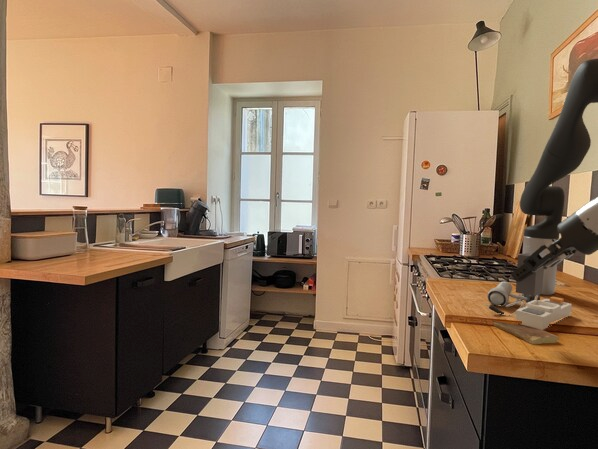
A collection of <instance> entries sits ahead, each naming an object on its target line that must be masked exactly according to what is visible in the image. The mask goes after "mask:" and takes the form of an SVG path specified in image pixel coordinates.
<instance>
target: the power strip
mask: <svg viewBox="0 0 598 449" xmlns="http://www.w3.org/2000/svg"><path fill="white" fill-rule="evenodd" d="M572 305H573V304H572V303H569V302H565V301H564V298H562V297H556V296H551V297H549V298H544V299H540V300H533V301H530V302H528V303H526V302H525V306H522V307H521V308H520V307H519V308H520V309H519V308H518V309H516V310H515V312H516V313H515V319H517V320H519V321H522V324H521V326H525V327H530V328H535V329H540V330H544V331H545V330H546V329H547V328H549V327H550V326H549V324H550V323H551V322H554V321H556V320H559V319H561V318H563V317H566V316H569V315H571V314H572ZM571 316H572V315H571ZM569 317H570V316H569ZM515 319H514V320H515ZM548 326H549V327H548Z"/></svg>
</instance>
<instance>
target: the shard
mask: <svg viewBox="0 0 598 449" xmlns="http://www.w3.org/2000/svg"><path fill="white" fill-rule="evenodd" d="M491 322H492V323H493V326H494V327H496V328H498V329H501V330H502V331H504V332H507V333H509V334H511V335H514V336H515V337H516V338H519V339H522V340H523V341H525V342H527V343H529V344H532V345H538V344H556V343H557V342H558V341H559V339H560V337H559V336H558V335H555V334H553V333H550V332H548V331H546V330H545V329H544V330H540V329H536V328H533V327H529V326H525V325H521V324H511V323H507V322H506V323H505V322H499V321H495V320H492V321H491Z"/></svg>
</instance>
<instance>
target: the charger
mask: <svg viewBox="0 0 598 449" xmlns="http://www.w3.org/2000/svg"><path fill="white" fill-rule="evenodd" d="M530 255H532V254H528V253H525V254H522V253H520V254H517V266H516V267H517V268H516V269H518V268H519V267H521V266H522V265H523V264H524V263H523V261H524V260H525V259H527V258H528V257H529V256H530ZM532 263H533V264H534V265H537V263H536V262H535V261H534V260H533V261H532ZM543 275H544V267H542V268H540V269H539V270H537V272H534V273H532V274H530V275H529V276H527V277H526V278H525V279H523V280H522V281H520V282H517V281H516V280H515V282H516V283H515V293H516V294H521V295H522V294H526V295H531V296H535V297H536V295H539V294H540V295H543V294H542V288H543Z"/></svg>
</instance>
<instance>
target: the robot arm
mask: <svg viewBox="0 0 598 449" xmlns="http://www.w3.org/2000/svg"><path fill="white" fill-rule="evenodd" d="M596 103H597V104H598V58H591V59H587V60H585V61H583V62H582V63H581V64H580V65H579V66H578V67H577V69H576V70H575V72H574V75H573V77H572V78H571V81H570V84H569V87H568V89H567V93H566V96H565V99H564V103H563V105H562V109H561V111H560V114H559V116H558V118H557V121H556V124H555V125H554V128H553V129H552V130H553V131H552V132H551V134H550V137H549V138H548V140H547V141H546V144H545V147H544V149H543V151H542V153H541V157H540V159H539V160H538V161H539V162H538V164H537V166H536V168H535V170H534V173H533V174H532V176H531V177H530V179H529V181H528V182H527V184H526V185H525V187H524V189H523V191H522V194H521V195H520V201H519V209H520V210H521V212H522V213H523V214H525V215H527V216H528V215H529V216H543V217H544V216H545V217H544V219H543V220H542V221H541V222H539V223H537V224H536V223H535V224H534V225H530V226H526V227H525V228H524V230H523V242H522V243H523V244H522V253H521V254H525V253H528V254H532V255H530V256H529V257H528V258H527V259H525V260H524V261H523V263H524V264H523V265H522V266H521V267H519V268H518V269H517V268H516V269H515V270H513V271H512V272H511V273H510V275H511V277H512V278H513V279H514V280H515V282H516V281H517V282H520V281H522V280H523V279H525V278H526V277H527V276H529V275H530V274H532V273H534V272H537V270H539V269H540V268H542V267H544V275H543V288H542V294H541V295H546V296H547V295H549V296H550V295H554V294H555V290H556V279H557V278H556V277H557V270H558V269H557V267H558V265H559V264H560V263H561V262H563V261H564V260H568V259H569V258H571V256H573V255H575V254H576V252H579V253H580V254H583V255H586V256H590V255H593V254H594V253H596V252H597V251H598V196H597V197H594V198H593V199H591V200H590V201H588V202H587V203H585V204H584V205H583V206H581V207H580V208H578V209H577V210H576V211H575V212H573V213H572V214H571V215H568V217H566V218H565V219H564V220H563V213H564V208H565V207H564V206H565V202H566V201H565V198H566V196H565V191H564V189H563V188H562V187H561V186H556V185H554V186H553V184H554V183H555V182H558V181H560V180H561V179H563V178H565V177H566V176H568V175H570V174H571V173H573V172H574V171H575V170H577V169H578V168H579V167H580V166H581V165H582V163H583V160H584V159H585V157H586V156H587V154H588V152H589V150H590V148H591V145H592V144H591V143H592V140H591V137H590V136H591V135H590V133H589V131H588V128H587V126H586V124H585V122H584V118H583V116H584V112H585V110H586V108H587V106H589V105H590V104H596ZM533 260H534V261H535V262H536V263H537V265H534V264H533V263H532V261H533Z"/></svg>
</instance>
